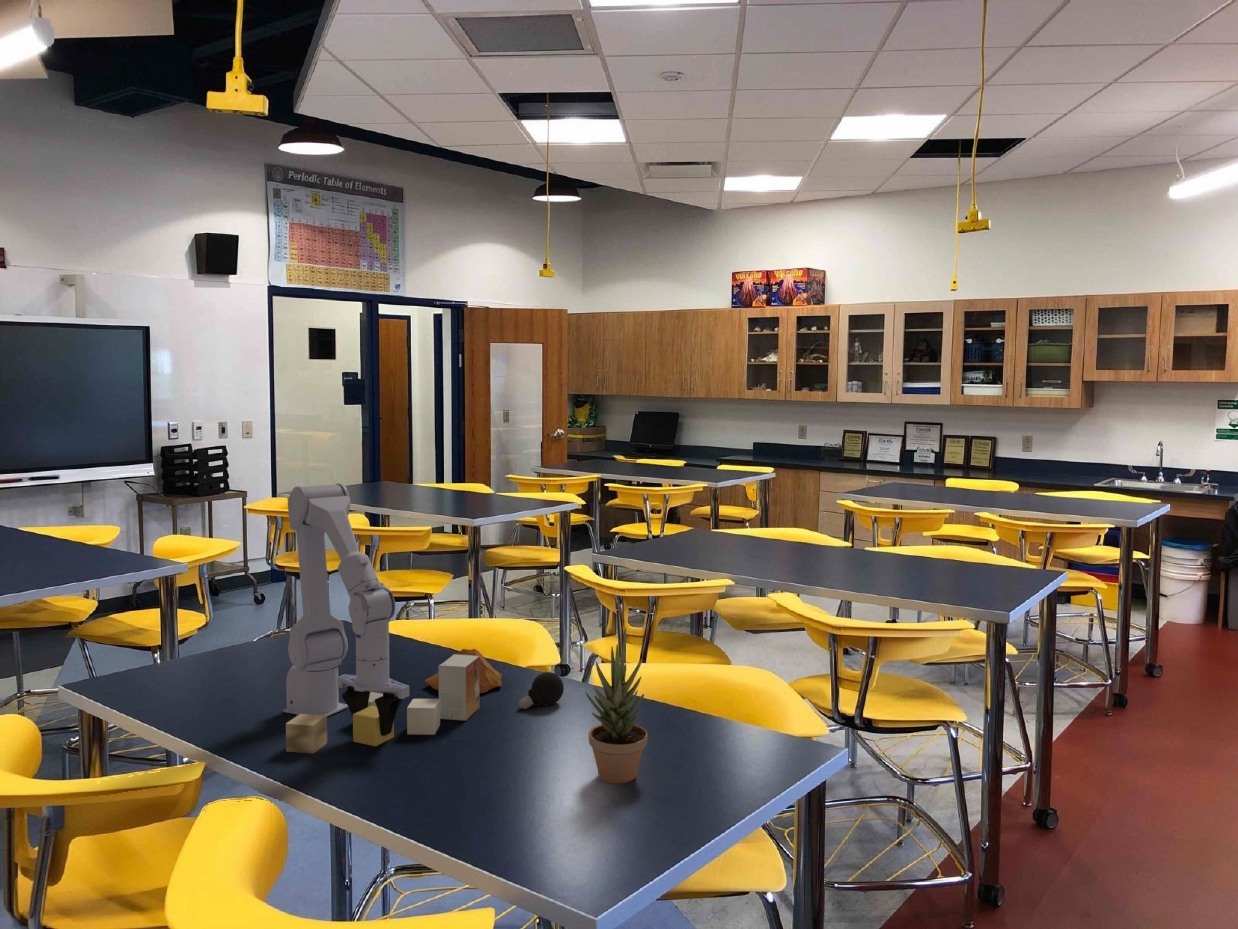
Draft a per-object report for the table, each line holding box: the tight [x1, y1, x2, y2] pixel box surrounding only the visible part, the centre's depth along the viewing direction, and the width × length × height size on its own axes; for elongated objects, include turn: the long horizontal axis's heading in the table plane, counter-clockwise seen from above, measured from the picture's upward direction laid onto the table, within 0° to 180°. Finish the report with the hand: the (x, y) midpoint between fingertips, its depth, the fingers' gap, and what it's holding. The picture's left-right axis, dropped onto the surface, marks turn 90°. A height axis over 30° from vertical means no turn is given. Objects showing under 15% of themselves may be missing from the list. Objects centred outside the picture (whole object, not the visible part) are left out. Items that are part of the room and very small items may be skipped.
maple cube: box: [285, 714, 328, 754], centre depth 166 cm, size 5×5×5 cm
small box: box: [438, 653, 481, 721], centre depth 183 cm, size 8×6×10 cm
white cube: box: [406, 698, 441, 736], centre depth 175 cm, size 5×5×5 cm
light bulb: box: [518, 671, 565, 710], centre depth 188 cm, size 6×6×10 cm
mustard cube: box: [352, 706, 395, 747], centre depth 170 cm, size 5×5×5 cm
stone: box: [424, 648, 503, 694], centre depth 199 cm, size 15×15×10 cm
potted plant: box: [585, 627, 649, 784], centre depth 154 cm, size 10×10×25 cm
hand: (373, 731), depth 170 cm, fingers closed on mustard cube, 5 cm apart
